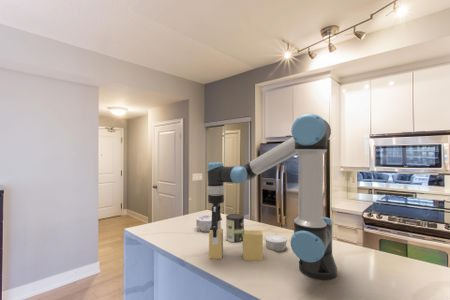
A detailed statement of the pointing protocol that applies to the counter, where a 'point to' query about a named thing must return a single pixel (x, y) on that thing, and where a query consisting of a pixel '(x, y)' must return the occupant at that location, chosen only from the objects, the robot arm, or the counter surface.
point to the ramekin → (276, 242)
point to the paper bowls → (204, 222)
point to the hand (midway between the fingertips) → (216, 238)
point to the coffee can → (234, 228)
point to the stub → (216, 246)
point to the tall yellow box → (252, 245)
